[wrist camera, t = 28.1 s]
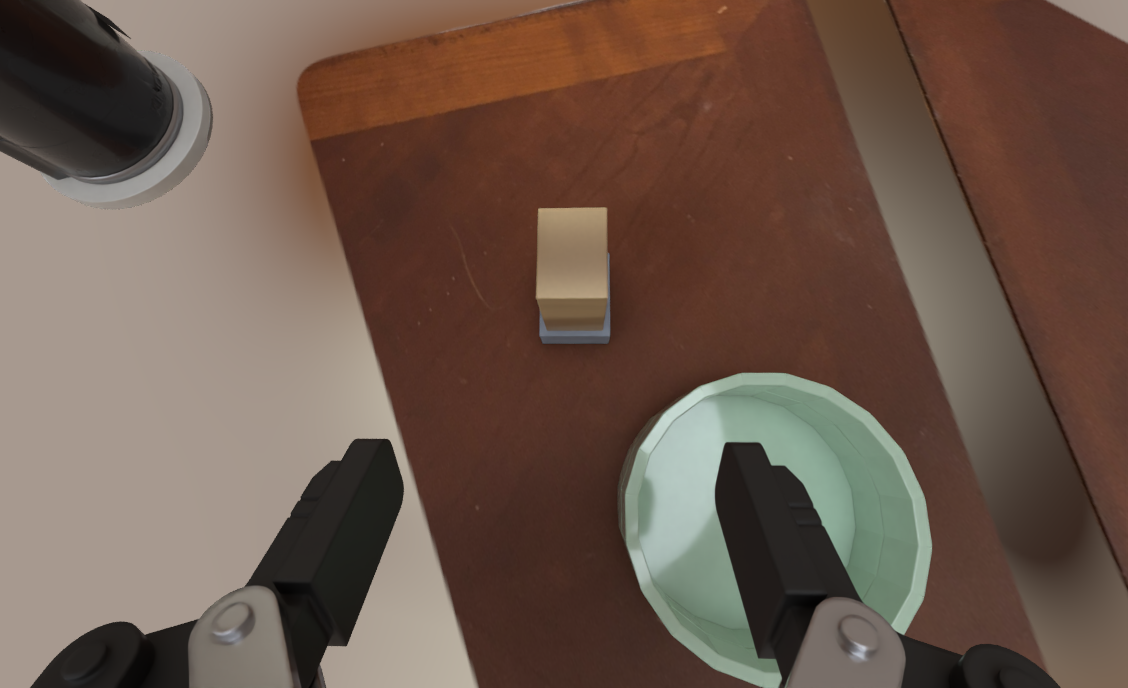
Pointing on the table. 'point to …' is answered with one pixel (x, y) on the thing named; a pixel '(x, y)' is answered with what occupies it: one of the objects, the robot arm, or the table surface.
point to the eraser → (573, 276)
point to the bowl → (816, 457)
